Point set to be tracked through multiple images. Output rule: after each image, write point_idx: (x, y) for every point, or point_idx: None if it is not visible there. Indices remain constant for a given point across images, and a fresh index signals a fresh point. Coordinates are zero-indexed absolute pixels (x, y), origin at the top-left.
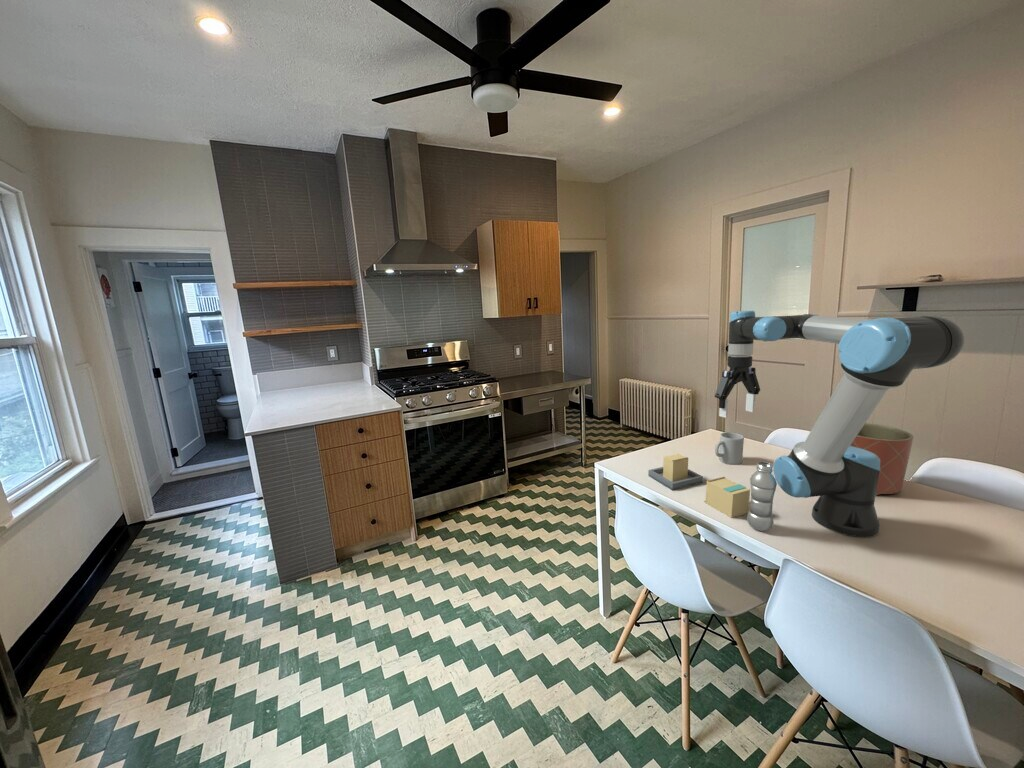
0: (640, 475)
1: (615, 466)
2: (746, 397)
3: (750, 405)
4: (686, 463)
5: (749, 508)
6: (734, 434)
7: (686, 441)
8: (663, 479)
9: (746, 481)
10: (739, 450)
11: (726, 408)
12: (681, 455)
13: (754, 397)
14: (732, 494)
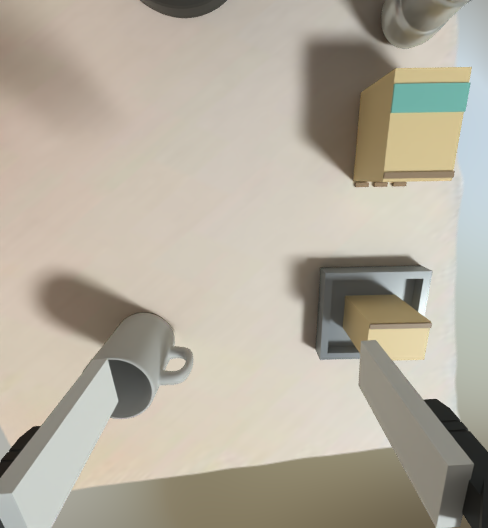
0: None
1: None
2: (63, 501)
3: (88, 408)
4: (369, 315)
5: (443, 23)
6: None
7: (157, 466)
8: (425, 302)
9: (211, 228)
10: (130, 334)
11: (410, 388)
12: None
13: (17, 461)
14: (469, 70)
